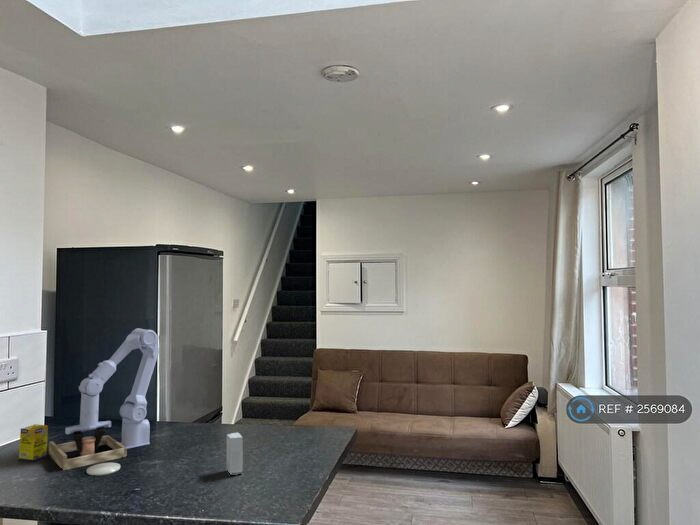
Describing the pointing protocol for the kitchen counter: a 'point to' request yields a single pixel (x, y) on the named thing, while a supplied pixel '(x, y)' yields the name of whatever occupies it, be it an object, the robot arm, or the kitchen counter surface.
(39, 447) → the supplement box
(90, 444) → the peach drawer knob
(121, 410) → the robot arm
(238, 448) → the skincare box
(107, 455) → the frame
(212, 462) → the kitchen counter surface
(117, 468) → the saucer
